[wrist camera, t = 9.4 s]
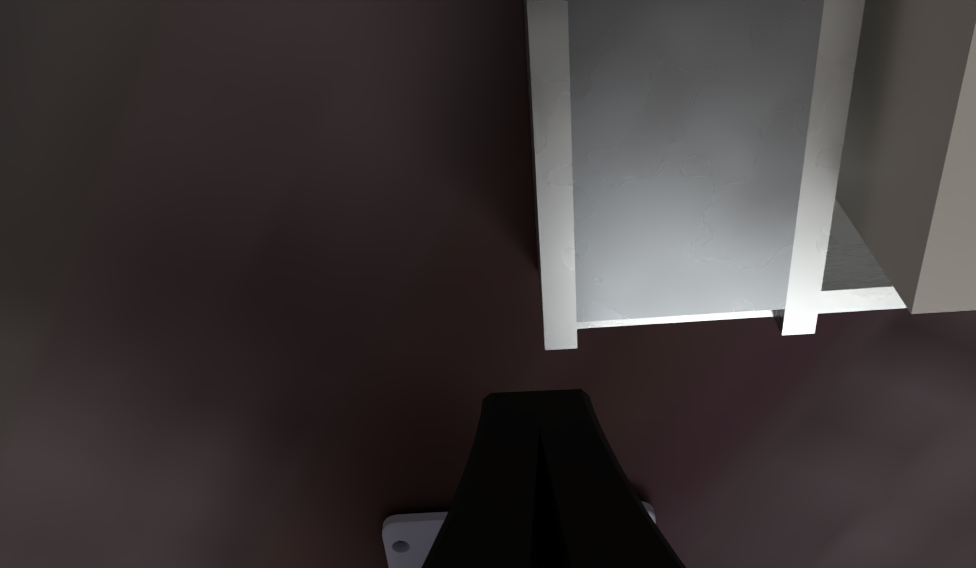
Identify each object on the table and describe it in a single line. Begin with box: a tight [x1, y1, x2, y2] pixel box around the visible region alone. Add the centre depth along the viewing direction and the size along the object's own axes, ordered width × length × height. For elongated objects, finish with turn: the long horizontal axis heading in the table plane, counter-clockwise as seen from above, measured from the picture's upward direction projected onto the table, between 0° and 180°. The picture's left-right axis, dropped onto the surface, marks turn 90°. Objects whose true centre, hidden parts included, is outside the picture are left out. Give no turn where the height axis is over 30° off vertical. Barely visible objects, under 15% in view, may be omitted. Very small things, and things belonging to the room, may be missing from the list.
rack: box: [523, 0, 907, 350], centre depth 18 cm, size 10×14×3 cm
